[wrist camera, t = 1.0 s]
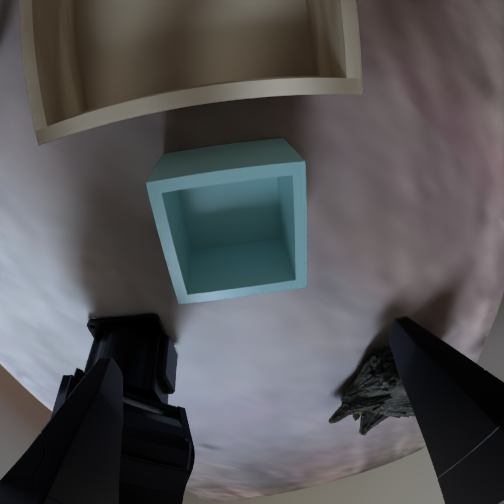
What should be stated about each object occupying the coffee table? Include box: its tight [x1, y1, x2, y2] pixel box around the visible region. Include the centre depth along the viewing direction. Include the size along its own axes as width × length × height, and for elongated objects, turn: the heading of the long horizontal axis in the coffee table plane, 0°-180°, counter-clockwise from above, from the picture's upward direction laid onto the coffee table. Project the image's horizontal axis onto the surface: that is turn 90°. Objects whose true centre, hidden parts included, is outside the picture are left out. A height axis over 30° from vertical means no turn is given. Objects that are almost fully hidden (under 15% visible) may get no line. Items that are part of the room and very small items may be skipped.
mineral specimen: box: [329, 347, 415, 435], centre depth 28 cm, size 15×13×10 cm
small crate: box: [146, 138, 307, 304], centre depth 17 cm, size 7×7×5 cm
